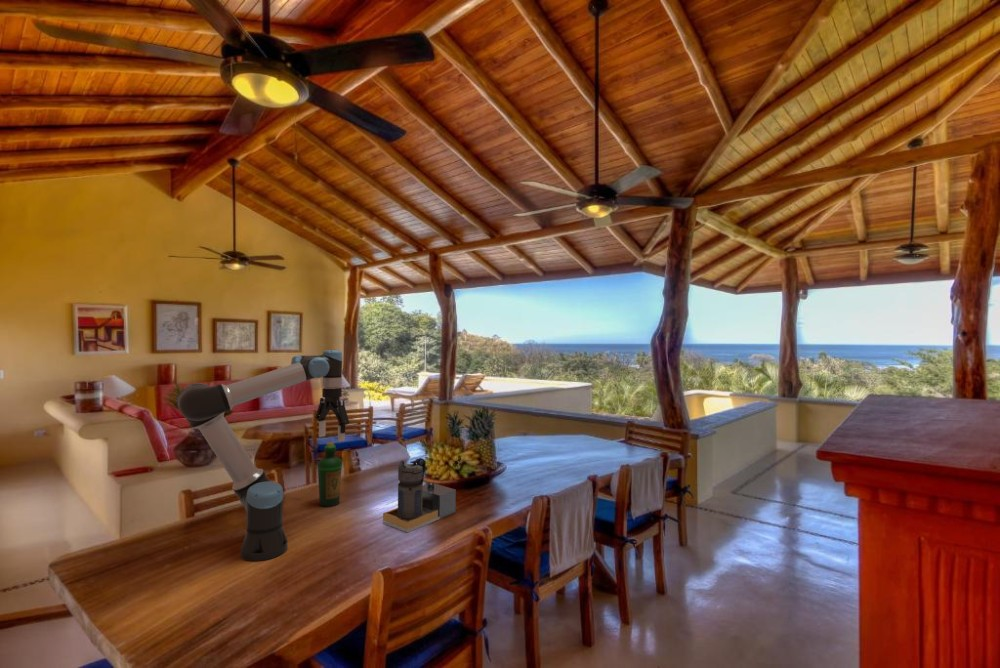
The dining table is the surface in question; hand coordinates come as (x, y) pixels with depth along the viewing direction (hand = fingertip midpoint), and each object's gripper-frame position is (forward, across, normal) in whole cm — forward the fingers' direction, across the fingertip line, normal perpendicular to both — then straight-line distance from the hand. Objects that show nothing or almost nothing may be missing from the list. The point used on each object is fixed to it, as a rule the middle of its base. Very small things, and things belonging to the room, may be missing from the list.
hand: (331, 438), depth 199 cm
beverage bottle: (+34, -25, -22) cm, 47 cm away
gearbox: (+35, -25, -27) cm, 51 cm away
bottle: (+35, +19, -12) cm, 42 cm away
